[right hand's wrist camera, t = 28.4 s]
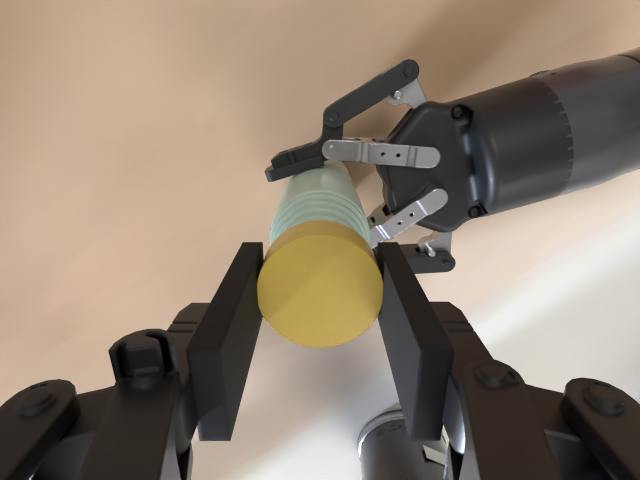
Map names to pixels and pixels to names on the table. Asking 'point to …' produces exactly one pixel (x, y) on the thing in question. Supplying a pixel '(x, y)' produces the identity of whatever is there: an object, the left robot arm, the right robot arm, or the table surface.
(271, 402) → the table surface
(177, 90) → the table surface
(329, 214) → the bottle
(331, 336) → the cap
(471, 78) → the table surface
